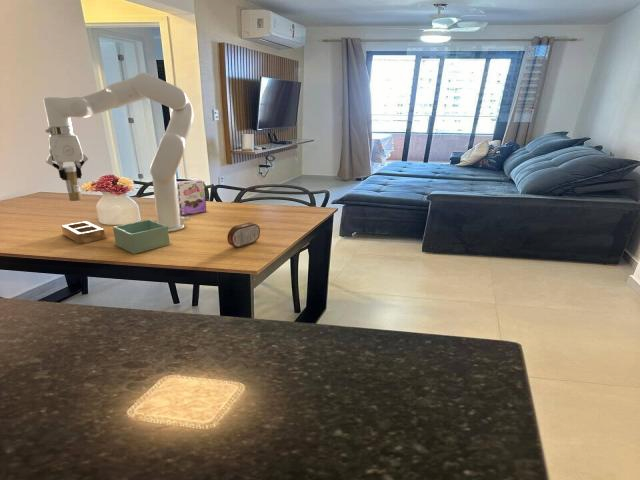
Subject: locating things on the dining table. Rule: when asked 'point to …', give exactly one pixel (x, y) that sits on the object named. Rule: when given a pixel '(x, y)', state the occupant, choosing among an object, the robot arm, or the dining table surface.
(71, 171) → the sprinkles bottle
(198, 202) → the candy box
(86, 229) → the rack
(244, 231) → the tin
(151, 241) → the basin
